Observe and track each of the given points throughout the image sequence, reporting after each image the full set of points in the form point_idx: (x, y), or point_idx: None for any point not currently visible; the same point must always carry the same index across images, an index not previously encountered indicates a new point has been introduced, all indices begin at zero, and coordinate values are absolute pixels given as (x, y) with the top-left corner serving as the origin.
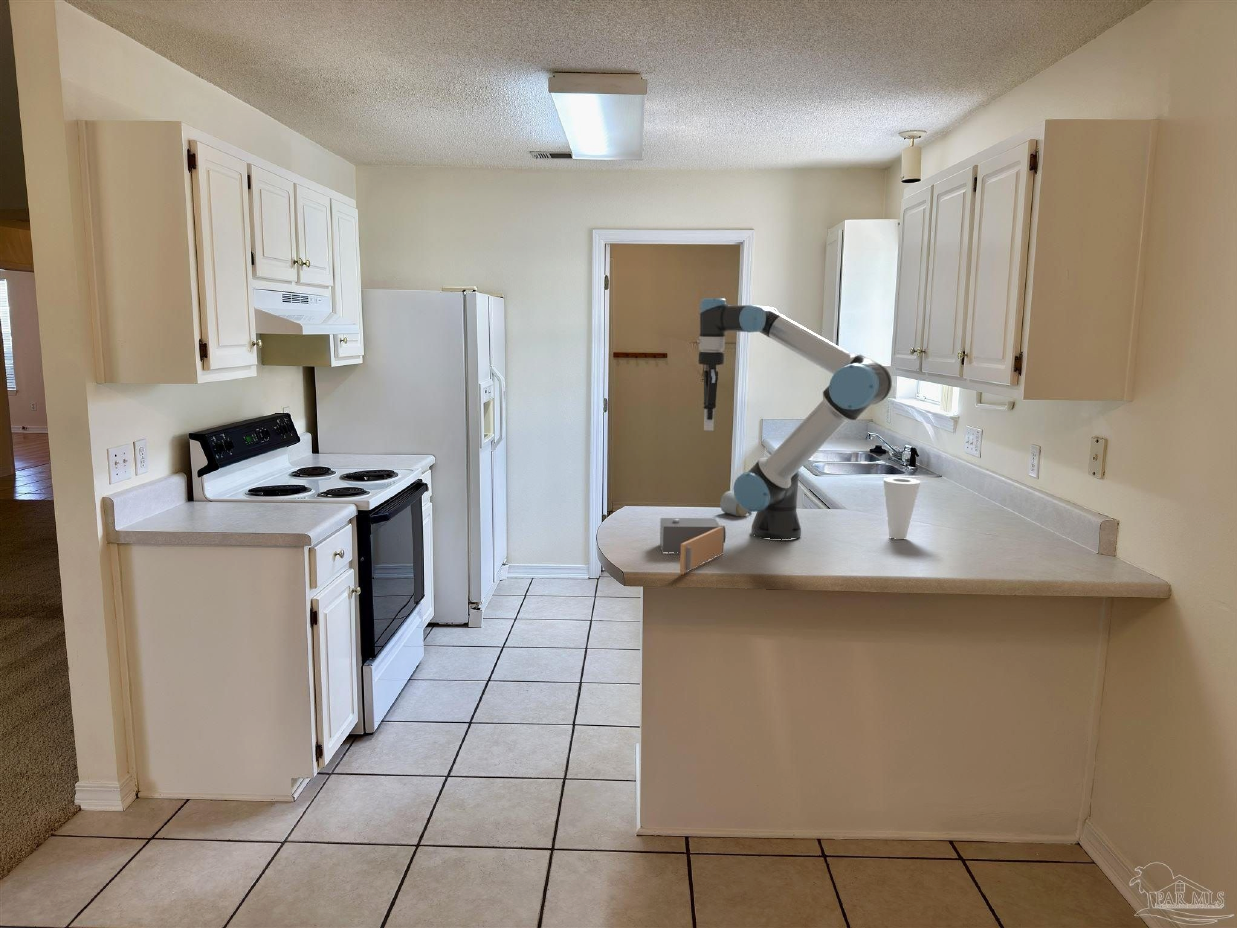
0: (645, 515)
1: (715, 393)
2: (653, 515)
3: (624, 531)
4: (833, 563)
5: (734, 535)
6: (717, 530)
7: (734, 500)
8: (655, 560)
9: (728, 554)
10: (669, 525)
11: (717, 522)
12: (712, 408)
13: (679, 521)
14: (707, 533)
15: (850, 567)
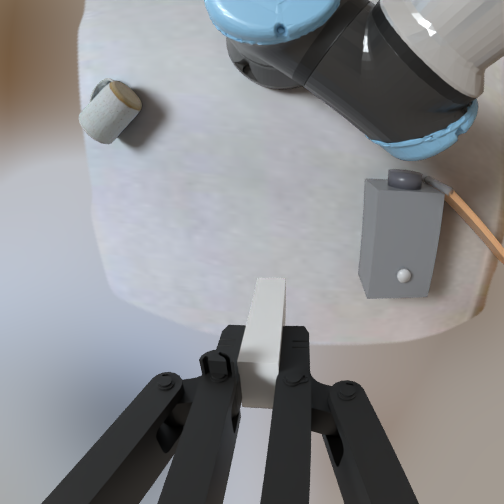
0: (155, 279)
1: (405, 487)
2: (152, 266)
3: None
4: None
5: (292, 125)
6: (467, 205)
7: (123, 114)
8: (438, 285)
9: (424, 165)
10: (423, 287)
11: (413, 192)
12: (316, 384)
13: (398, 267)
14: (486, 230)
15: None
